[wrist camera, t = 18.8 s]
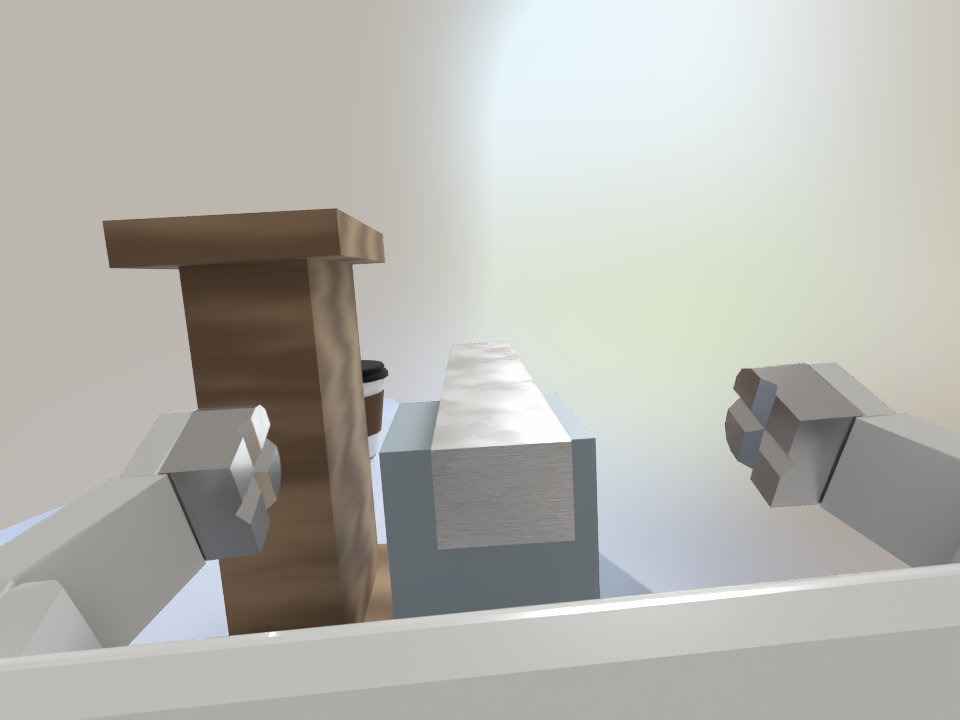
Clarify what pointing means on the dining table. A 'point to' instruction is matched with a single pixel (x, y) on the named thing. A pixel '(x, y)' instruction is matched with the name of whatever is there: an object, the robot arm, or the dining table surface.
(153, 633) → the dining table surface
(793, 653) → the robot arm
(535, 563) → the block
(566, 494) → the aluminium bar
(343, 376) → the walnut stand
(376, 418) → the coffee cup
